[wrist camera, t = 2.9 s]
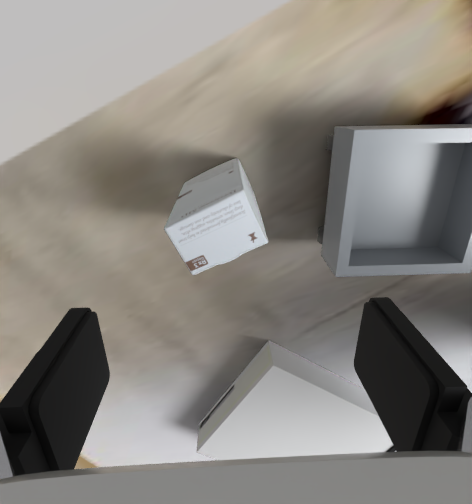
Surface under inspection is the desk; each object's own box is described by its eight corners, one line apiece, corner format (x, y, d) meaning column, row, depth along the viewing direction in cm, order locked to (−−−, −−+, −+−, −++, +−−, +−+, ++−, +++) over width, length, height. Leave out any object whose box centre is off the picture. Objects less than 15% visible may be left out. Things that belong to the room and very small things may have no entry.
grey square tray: (422, 240, 35) (470, 272, 29) (313, 243, 35) (335, 276, 28) (451, 122, 31) (517, 127, 24) (324, 124, 30) (354, 129, 23)
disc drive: (320, 470, 52) (329, 505, 47) (198, 421, 46) (195, 455, 42) (397, 402, 46) (416, 434, 42) (269, 336, 41) (274, 365, 36)
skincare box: (237, 155, 31) (245, 182, 20) (256, 196, 33) (273, 242, 22) (180, 183, 32) (158, 224, 21) (202, 222, 34) (192, 279, 23)
